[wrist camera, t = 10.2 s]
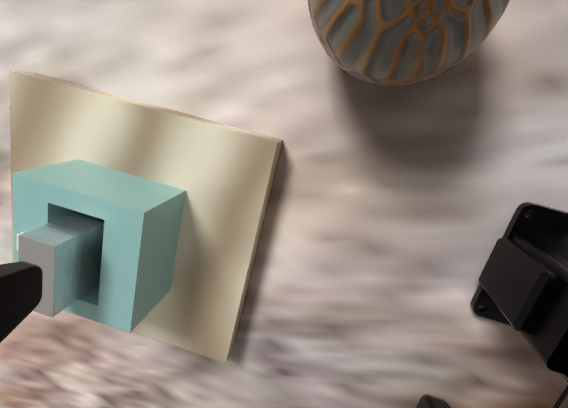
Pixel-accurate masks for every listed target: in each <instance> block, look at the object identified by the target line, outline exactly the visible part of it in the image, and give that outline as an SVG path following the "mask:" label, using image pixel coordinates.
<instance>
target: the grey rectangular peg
mask: <svg viewBox="0 0 568 408" xmlns="http://www.w3.org/2000/svg"><path fill="white" fill-rule="evenodd" d="M103 233H104V220H103V219H100V218H96V217H93V216H90V215H87V214H84V213H80V212H76V213H73V214H71V215H68V216H66V217H63V218H61V219H58V220H55V221H53V222H50V223H48V224H45V225H43V226H40V227H38V228H35V229H33V230H30V231H28V232H25V233H23V234H20V235H18V249H19V262H21V261H25V262H29V263H32V264H35V265H38V266H39V267H41V269H42V271H43V287H42V298H41V301H40V303H39V304H38V306H37V307H36V308H35V309H34V310H33V311H35V312H38V313H41V314H44V315H47V316H49V317H54V316H55V315H57V314H58V313H59V312H61V311H62V310H63V309H65V308H66V307H68V306H69V305H70V304H72V303H73V302H75V301H76V300H77V299H79V298H80V297H81V296H83V295H84V294H86V293H87V292H88V291H90V290H91V289H93V288H94V287H95V286H97V285H98V284H99V283H100V271H101V258H102V246H103Z"/></svg>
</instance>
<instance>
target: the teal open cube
mask: <svg viewBox="0 0 568 408" xmlns="http://www.w3.org/2000/svg"><path fill="white" fill-rule="evenodd" d="M12 187H13V252H14V262H19V249H18V235H20V234H23V233H25V232H28V231H30V230H33V229H35V228H38V227H40V226H43V225H45V224H48V223H50V222H53V221H55V220H58V219H61V218H63V217H66V216H68V215H71V214H73V213H76V212H80V213H84V214H87V215H90V216H93V217H96V218H100V219H103V220H104V233H103V246H102V258H101V271H100V283H99V284H98V285H97V286H95V287H94V288H93V289H91V290H90V291H88V292H87V293H86V294H84V295H83V296H81V297H80V298H79V299H77V300H76V301H75V302H73V303H72V304H70V305H69V306H68V307H66V308H65V309H63V310H65V311H68V312H71V313H74V314H77V315H79V316H82V317H85V318H88V319H91V320H94V321H97V322H100V323H103V324H106V325H109V326H112V327H115V328H117V329H120V330H123V331H126V332H129V333H130V332H131V331H132V330H133V329H134V328H135V327H136V326H137V325H138V324H139V323H140V322H141V321H142V320H143V319H144V318H145V317H146V316H147V314H148V313H149V312H150V311H151V310H152V309H153V308H154V307H155V306H156V305H157V304H158V303H159V302H160V301H161V300H162V299H163V298H164V297H165V295H166V294H167V293H168V292H169V291H170V290H171V283H172V277H173V270H174V264H175V258H176V251H177V245H178V238H179V232H180V225H181V219H182V213H183V206H184V200H185V193H186V190H183V189H179V188H176V187H172V186H169V185H166V184H162V183H159V182H155V181H152V180H149V179H145V178H142V177H138V176H135V175H132V174H128V173H125V172H121V171H118V170H115V169H111V168H108V167H104V166H101V165H98V164H94V163H91V162H87V161H84V160H81V159H77V160H72V161H67V162H62V163H57V164H53V165H48V166H43V167H38V168H33V169H28V170H23V171H18V172H13V173H12Z"/></svg>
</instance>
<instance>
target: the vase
mask: <svg viewBox="0 0 568 408" xmlns="http://www.w3.org/2000/svg"><path fill="white" fill-rule="evenodd" d="M509 1H510V0H308V6H309V11H310V16H311V20H312V23H313V27H314V29H315V32H316V34H317V37H318V39H319V41H320V43H321V44H322V46H323V48H324V49H325V51H326V52H327V54H328V55H329V56H330V57H331V59H332V60H333V61H334V62H335V63H336V64H337V65H338V66H339V67H340V68H342V69H343V70H344V71H346V72H347V73H349V74H350V75H352V76H354V77H355V78H357V79H360V80H362V81H365V82H368V83H371V84H375V85H381V86H404V85H410V84H415V83H419V82H423V81H426V80H428V79H431V78H433V77H436V76H438V75H440V74H442V73H444V72H446V71H447V70H449V69H451V68H452V67H454V66H455V65H457V64H458V63H460V62H461V61H462V60H464V59H465V58H466V57H467V56H469V55H470V54H471V53H472V52H473V51H474V50H475V49H476V48H477V47H478V46H479V45H480V44H481V43H482V42H483V41H484V40H485V38H486V37H487V36H488V35H489V34H490V32H491V31H492V29H493V28H494V27H495V25H496V24H497V22H498V21H499V19H500V18H501V16H502V14H503V13H504V11H505V9H506V7H507V5H508V3H509Z"/></svg>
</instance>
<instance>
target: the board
mask: <svg viewBox="0 0 568 408" xmlns="http://www.w3.org/2000/svg"><path fill="white" fill-rule="evenodd" d="M10 129H11V190H12V250H13V187H12V173H13V172H18V171H23V170H28V169H33V168H38V167H43V166H48V165H53V164H57V163H62V162H67V161H72V160H77V159H81V160H84V161H87V162H91V163H94V164H98V165H101V166H104V167H108V168H111V169H115V170H118V171H121V172H125V173H128V174H132V175H135V176H138V177H142V178H145V179H149V180H152V181H155V182H159V183H162V184H166V185H169V186H172V187H176V188H179V189H183V190H186V193H185V200H184V206H183V213H182V219H181V225H180V232H179V238H178V245H177V251H176V258H175V264H174V270H173V277H172V283H171V290H170V291H169V292H168V293H167V294H166V295H165V297H164V298H163V299H162V300H161V301H160V302H159V303H158V304H157V305H156V306H155V307H154V308H153V309H152V310H151V311H150V312H149V313H148V314H147V316H146V317H145V318H144V319H143V320H142V321H141V322H140V323H139V324H138V325H137V326H136V327H135V328H134V329H133V330H132V331H133V332H136V333H139V334H142V335H145V336H148V337H151V338H154V339H157V340H159V341H162V342H165V343H168V344H171V345H174V346H177V347H180V348H183V349H186V350H189V351H192V352H195V353H198V354H200V355H203V356H206V357H209V358H212V359H215V360H218V361H221V362H224V363H226V361H227V359H228V357H229V355H230V353H231V351H232V349H233V346H234V342H235V338H236V334H237V329H238V325H239V321H240V317H241V313H242V308H243V304H244V300H245V296H246V292H247V288H248V283H249V279H250V275H251V271H252V267H253V262H254V258H255V254H256V250H257V246H258V242H259V237H260V233H261V229H262V225H263V221H264V216H265V212H266V208H267V204H268V200H269V196H270V191H271V187H272V183H273V179H274V175H275V170H276V166H277V162H278V158H279V154H280V150H281V145H282V141H283V140H280V139H277V138H273V137H269V136H266V135H262V134H258V133H254V132H251V131H247V130H243V129H240V128H236V127H232V126H229V125H225V124H221V123H217V122H214V121H210V120H206V119H203V118H199V117H195V116H192V115H188V114H184V113H181V112H177V111H173V110H169V109H166V108H162V107H158V106H155V105H151V104H147V103H144V102H140V101H136V100H132V99H129V98H125V97H121V96H118V95H114V94H110V93H107V92H103V91H99V90H95V89H92V88H88V87H84V86H81V85H77V84H73V83H70V82H66V81H62V80H59V79H55V78H51V77H47V76H44V75H40V74H36V73H31V72H21V71H11V70H10ZM13 263H14V252H13Z"/></svg>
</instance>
